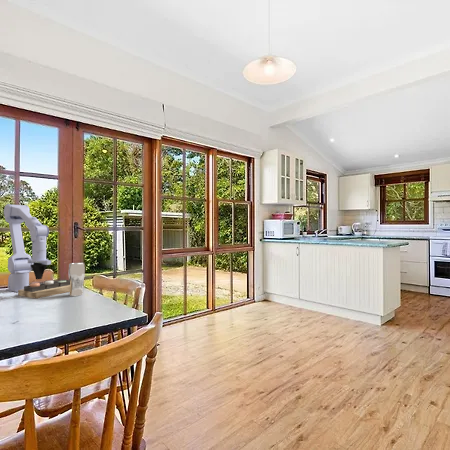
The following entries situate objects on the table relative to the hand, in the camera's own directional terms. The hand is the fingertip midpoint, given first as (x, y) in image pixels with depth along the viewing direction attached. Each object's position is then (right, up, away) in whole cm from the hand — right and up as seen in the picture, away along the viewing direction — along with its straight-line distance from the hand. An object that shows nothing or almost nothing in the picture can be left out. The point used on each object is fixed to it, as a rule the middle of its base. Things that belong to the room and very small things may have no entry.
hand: (38, 279), depth 147 cm
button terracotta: (-1, -4, -2) cm, 4 cm away
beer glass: (+18, -8, 0) cm, 19 cm away
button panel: (+2, -8, +5) cm, 9 cm away
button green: (+5, -5, +11) cm, 13 cm away
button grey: (+2, -4, +5) cm, 6 cm away
